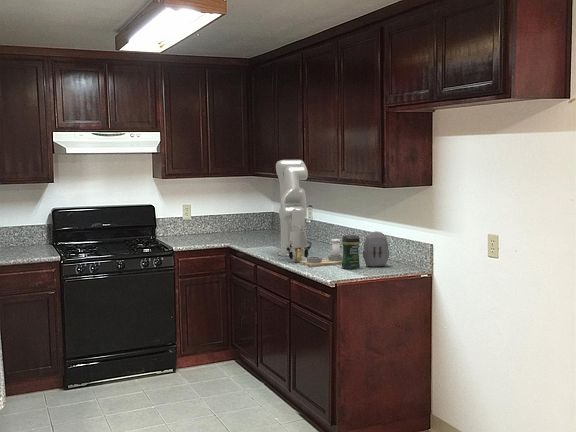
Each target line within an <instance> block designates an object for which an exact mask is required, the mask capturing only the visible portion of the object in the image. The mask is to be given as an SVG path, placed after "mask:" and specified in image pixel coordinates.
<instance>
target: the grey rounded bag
mask: <svg viewBox="0 0 576 432" xmlns="http://www.w3.org/2000/svg"><path fill="white" fill-rule="evenodd" d="M362 258H363V260H364V263H365V265H366V266H368V267H375V268H376V267H383V266H387V263H388V260H389V258H390V250H389V242H388V239H387V236H386V235H385V234H384V233H383V232H381V231H372V232H370V233H368V234H367V235H366V236H365V239H364V242H363V250H362Z"/></svg>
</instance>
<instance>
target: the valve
mask: <svg viewBox="0 0 576 432" xmlns="http://www.w3.org/2000/svg"><path fill="white" fill-rule="evenodd" d="M303 250H304V248H297V249H294V251H295V256H294V263H295V264H300V261H303V252H304V251H303Z"/></svg>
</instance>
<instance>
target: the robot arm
mask: <svg viewBox="0 0 576 432" xmlns="http://www.w3.org/2000/svg"><path fill="white" fill-rule="evenodd" d="M275 171H276V175H277V177H278V181H279V192H280V193H279V194H280V202H279V203H280V204H279V208H278V209H279V210H278V215H279V223H280V252H278V256H281V257H289V259H291V260H292V259H293V258H294V257H295V251H294V249H297V248H301V249H303V250H304V251H303V253H304V254H303V255H304V258H305V259H307V258H308V257H309V250H310V249H311V248H312V245H313V242H311V241H309V240H308V237H307V232H306V230H307V226H305V221H306V220H305V219H306V218H307V214H308V213H307V209H308V208H307V197H306V191H305V189H304V188H302V187H300V181H306V180H307V179H308V177H309V175H308V172H309V171H308V168H307V166H306V164H305V162H304V161H303V160H302V159H281V160H278V161H277V162H276V163H275Z"/></svg>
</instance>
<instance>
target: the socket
mask: <svg viewBox="0 0 576 432" xmlns="http://www.w3.org/2000/svg"><path fill="white" fill-rule="evenodd" d="M322 259H323V257H321V256H308V258H306V260H307V262H308V263H321V262H322Z"/></svg>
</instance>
